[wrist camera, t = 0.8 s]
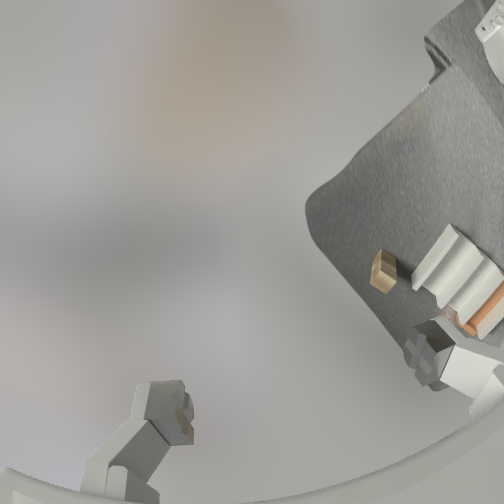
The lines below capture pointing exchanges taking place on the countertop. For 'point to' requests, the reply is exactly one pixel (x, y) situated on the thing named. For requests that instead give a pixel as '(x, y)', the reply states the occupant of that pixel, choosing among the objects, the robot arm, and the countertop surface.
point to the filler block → (383, 271)
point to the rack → (463, 281)
